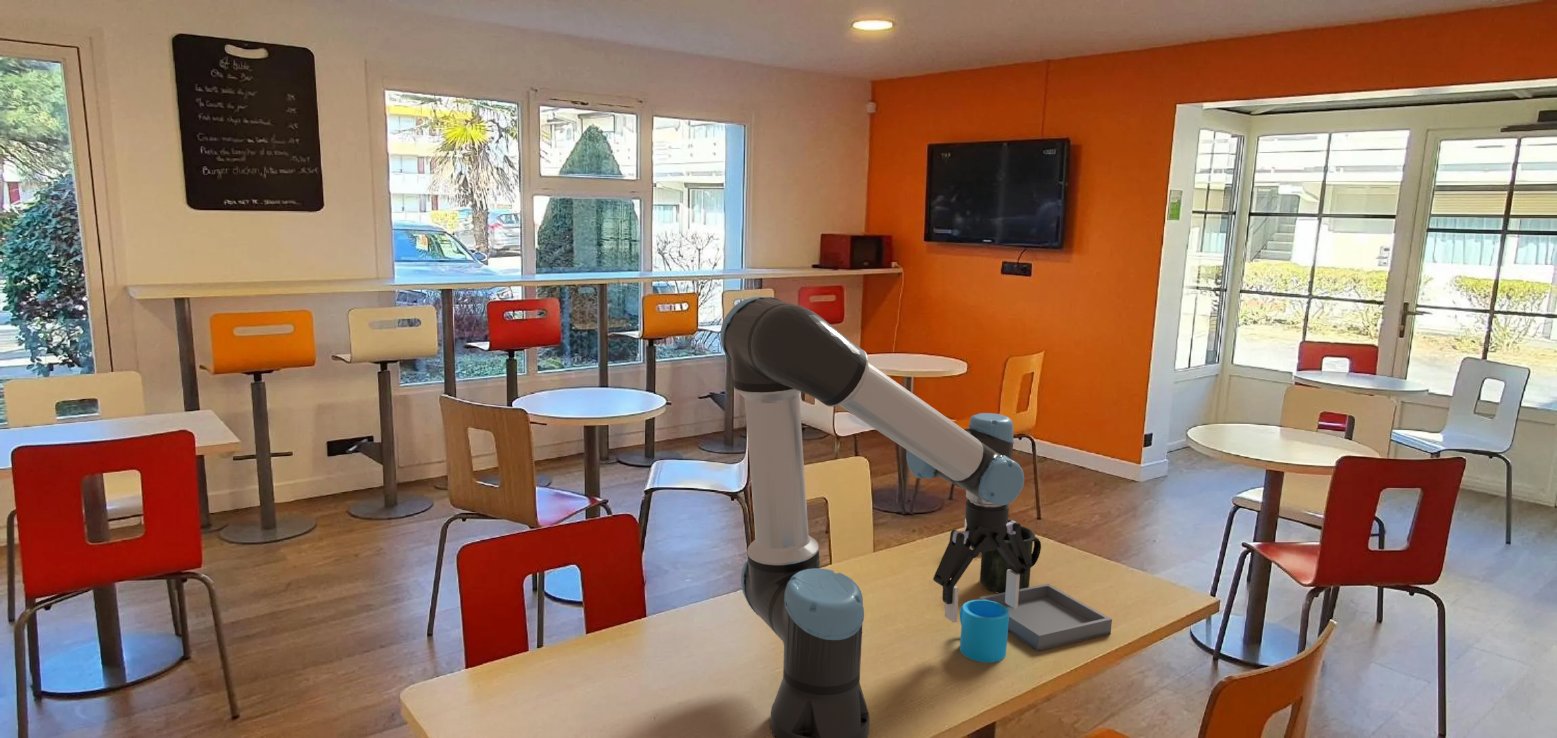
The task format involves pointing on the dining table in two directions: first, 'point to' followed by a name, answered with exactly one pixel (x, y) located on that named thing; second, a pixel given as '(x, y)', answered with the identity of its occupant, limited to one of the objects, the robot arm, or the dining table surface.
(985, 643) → the mug
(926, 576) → the dining table surface
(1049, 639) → the tray
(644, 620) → the dining table surface
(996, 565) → the mug
